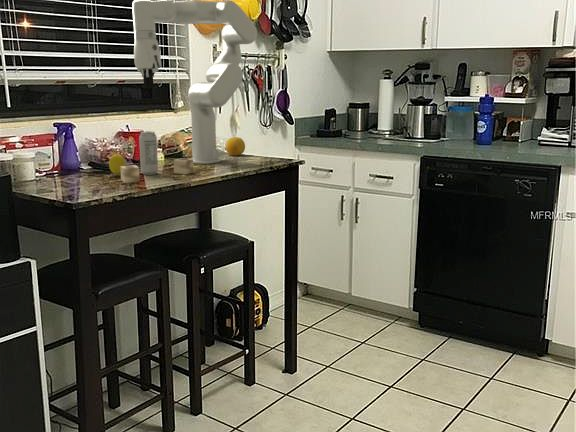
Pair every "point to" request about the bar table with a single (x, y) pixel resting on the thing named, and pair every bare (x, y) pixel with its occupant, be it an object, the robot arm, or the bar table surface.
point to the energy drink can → (148, 153)
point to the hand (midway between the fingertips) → (148, 88)
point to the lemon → (116, 163)
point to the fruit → (235, 146)
